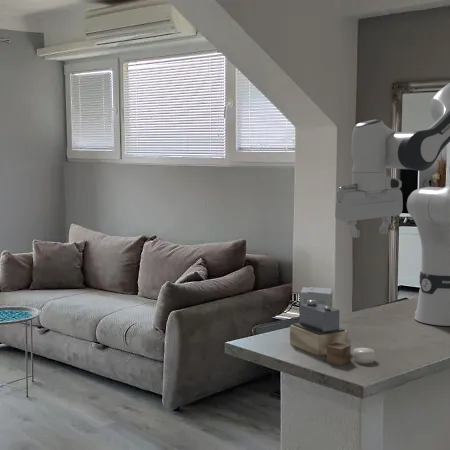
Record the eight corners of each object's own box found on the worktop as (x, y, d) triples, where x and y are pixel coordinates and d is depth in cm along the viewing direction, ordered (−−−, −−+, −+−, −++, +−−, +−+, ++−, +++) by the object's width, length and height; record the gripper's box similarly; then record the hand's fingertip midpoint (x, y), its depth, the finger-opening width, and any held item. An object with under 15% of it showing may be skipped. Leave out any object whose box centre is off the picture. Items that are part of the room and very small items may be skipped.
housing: (339, 329, 173) (339, 306, 172) (323, 332, 171) (323, 308, 170) (314, 321, 182) (315, 298, 181) (299, 323, 179) (299, 300, 179)
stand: (318, 339, 184) (318, 319, 184) (347, 350, 174) (347, 329, 173) (290, 344, 180) (290, 323, 179) (318, 356, 169) (318, 334, 169)
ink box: (330, 336, 187) (331, 293, 186) (298, 334, 189) (299, 291, 188) (332, 328, 196) (333, 286, 194) (301, 326, 197) (302, 285, 196)
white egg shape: (364, 356, 169) (365, 346, 169) (378, 362, 165) (379, 351, 165) (348, 359, 167) (348, 349, 167) (362, 365, 163) (362, 354, 162)
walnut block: (335, 358, 168) (336, 342, 167) (350, 361, 165) (350, 345, 165) (326, 362, 165) (326, 346, 164) (341, 365, 162) (341, 349, 162)
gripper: (345, 186, 174) (346, 240, 175) (406, 180, 183) (406, 232, 185) (329, 185, 179) (330, 238, 181) (390, 180, 189) (390, 230, 191)
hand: (369, 235), depth 183 cm, fingers open, 8 cm apart
